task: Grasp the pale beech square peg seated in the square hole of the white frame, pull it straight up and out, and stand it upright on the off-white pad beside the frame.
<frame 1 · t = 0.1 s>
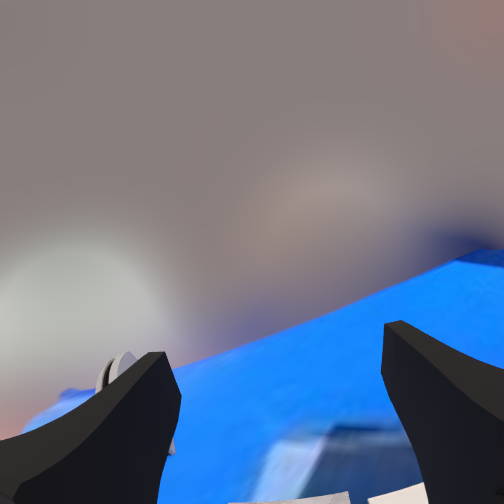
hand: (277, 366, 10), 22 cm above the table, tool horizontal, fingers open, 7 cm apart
hinge: (144, 421, 36), on the table
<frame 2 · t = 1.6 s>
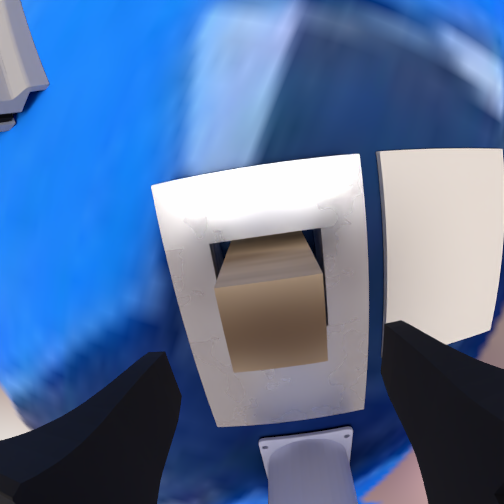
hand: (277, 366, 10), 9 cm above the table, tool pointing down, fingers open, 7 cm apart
pad: (448, 254, 18), on the table
white frame: (275, 297, 19), on the table
peg: (270, 267, 19), resting in white frame
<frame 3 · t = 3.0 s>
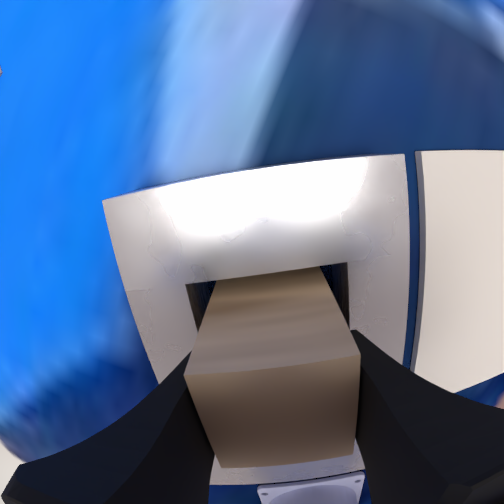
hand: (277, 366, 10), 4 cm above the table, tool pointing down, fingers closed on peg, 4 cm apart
pad: (491, 282, 13), on the table
white frame: (278, 342, 14), on the table
peg: (273, 305, 14), resting in white frame, touching gripper
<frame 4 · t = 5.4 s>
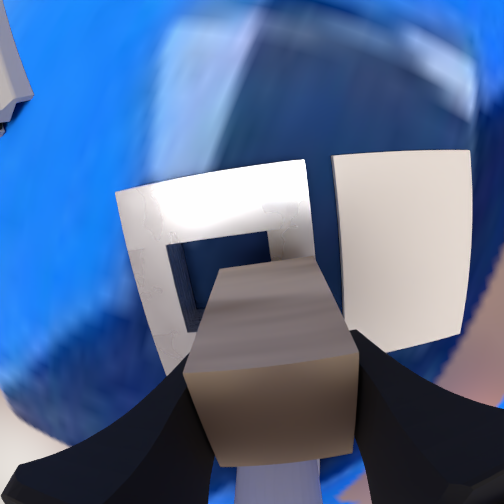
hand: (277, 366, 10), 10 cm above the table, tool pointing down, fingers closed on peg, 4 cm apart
pad: (410, 256, 19), on the table
white frame: (234, 296, 20), on the table
peg: (272, 304, 14), point 6 cm above the table, touching gripper
when the fingers open (6 cm above the table, at t = 7.7 s): peg stays where it is, resting on pad.
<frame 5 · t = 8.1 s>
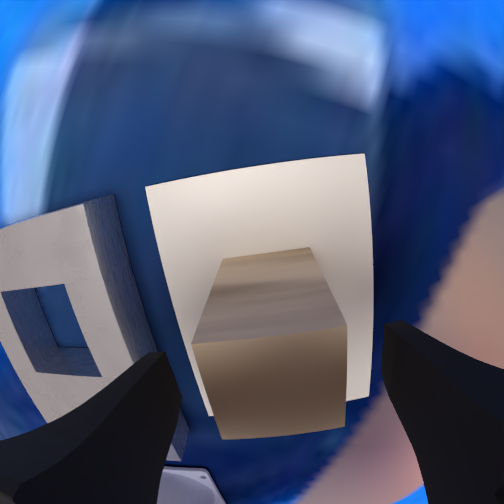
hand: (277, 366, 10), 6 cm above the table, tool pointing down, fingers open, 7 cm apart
pad: (275, 306, 16), on the table
white frame: (83, 338, 17), on the table
peg: (271, 292, 15), point 1 cm above the table, touching pad
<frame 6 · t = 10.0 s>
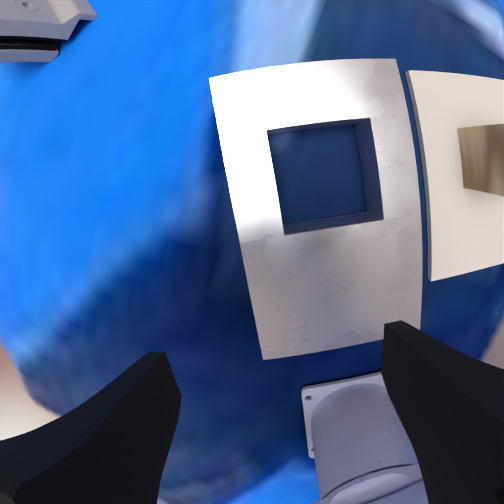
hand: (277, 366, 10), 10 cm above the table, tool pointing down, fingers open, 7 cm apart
pad: (478, 172, 17), on the table
white frame: (323, 206, 18), on the table
peg: (481, 157, 16), point 1 cm above the table, touching pad
hinge: (36, 4, 15), on the table
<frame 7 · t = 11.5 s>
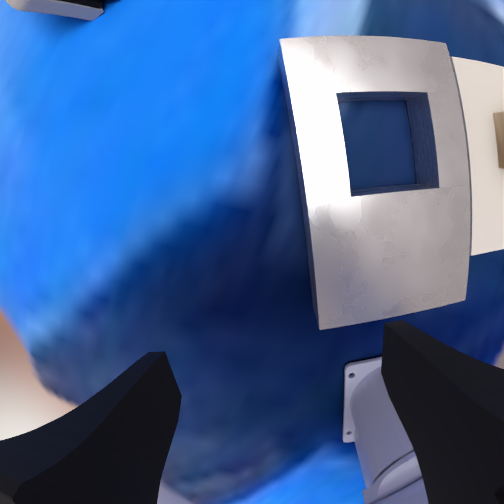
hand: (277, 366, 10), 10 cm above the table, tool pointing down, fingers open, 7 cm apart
white frame: (378, 175, 18), on the table
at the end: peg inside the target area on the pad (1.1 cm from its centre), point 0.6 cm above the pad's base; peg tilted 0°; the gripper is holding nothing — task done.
